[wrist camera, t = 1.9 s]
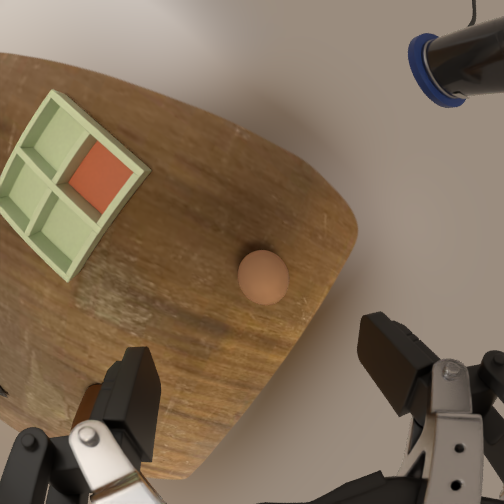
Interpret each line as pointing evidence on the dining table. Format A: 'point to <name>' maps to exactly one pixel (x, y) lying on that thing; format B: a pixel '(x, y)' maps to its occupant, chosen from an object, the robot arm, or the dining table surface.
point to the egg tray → (66, 183)
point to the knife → (2, 393)
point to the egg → (263, 277)
